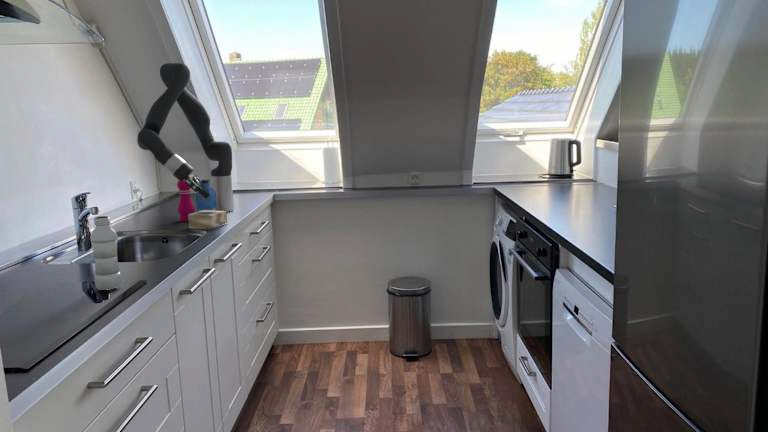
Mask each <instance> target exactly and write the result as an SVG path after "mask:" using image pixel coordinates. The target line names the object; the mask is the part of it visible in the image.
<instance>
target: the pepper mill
mask: <svg viewBox="0 0 768 432" xmlns="http://www.w3.org/2000/svg"><path fill="white" fill-rule="evenodd" d="M185 181H186V180H184V181H182V182H180V181H179V180H178V181H177V184H176V186H177V188H178V189H179V190H178V193H179V195H180V199H179V204H178V206H177V214H179V221H180V222H184V223H185V222H189V220H188V214H192V213H195V212H196V208H195V205H194V203H193V201H192V199H191V193H192V189H191V188H190V187H189V186H188V185H187V184H185Z"/></svg>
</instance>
